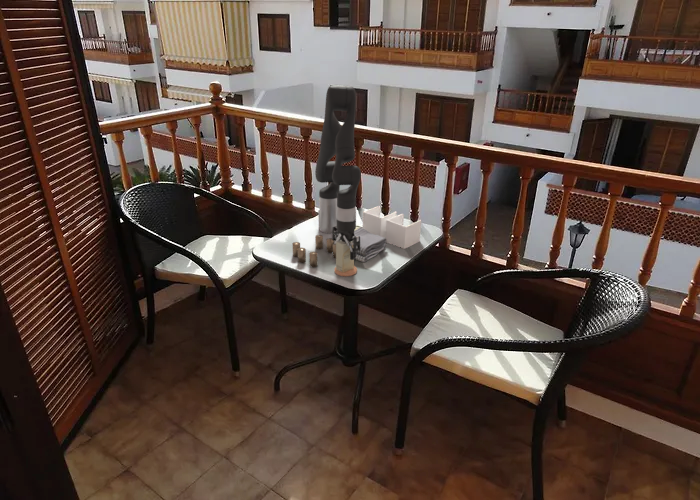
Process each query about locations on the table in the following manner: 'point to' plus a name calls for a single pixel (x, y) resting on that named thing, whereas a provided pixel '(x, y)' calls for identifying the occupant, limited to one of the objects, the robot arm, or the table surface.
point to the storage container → (391, 228)
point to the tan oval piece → (347, 273)
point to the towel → (368, 244)
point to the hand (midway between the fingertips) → (345, 255)
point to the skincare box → (343, 257)
